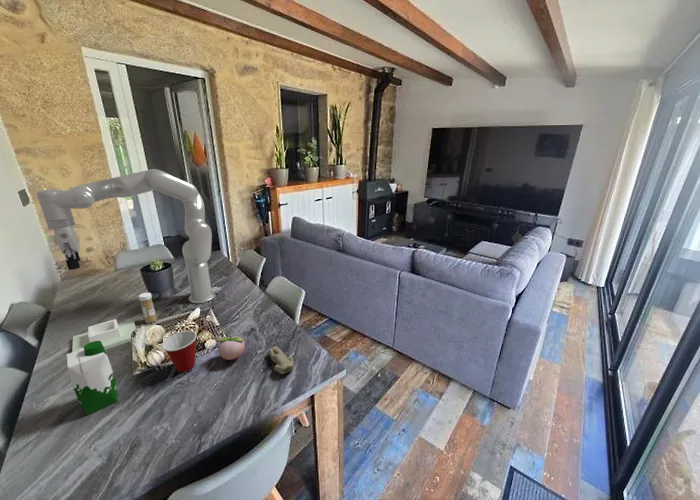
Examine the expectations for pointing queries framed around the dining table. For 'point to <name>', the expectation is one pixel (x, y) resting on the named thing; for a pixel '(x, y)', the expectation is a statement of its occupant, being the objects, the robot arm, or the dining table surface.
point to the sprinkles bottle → (147, 307)
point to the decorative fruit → (231, 347)
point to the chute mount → (105, 334)
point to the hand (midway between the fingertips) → (75, 265)
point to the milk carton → (92, 377)
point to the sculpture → (281, 360)
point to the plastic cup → (181, 349)
